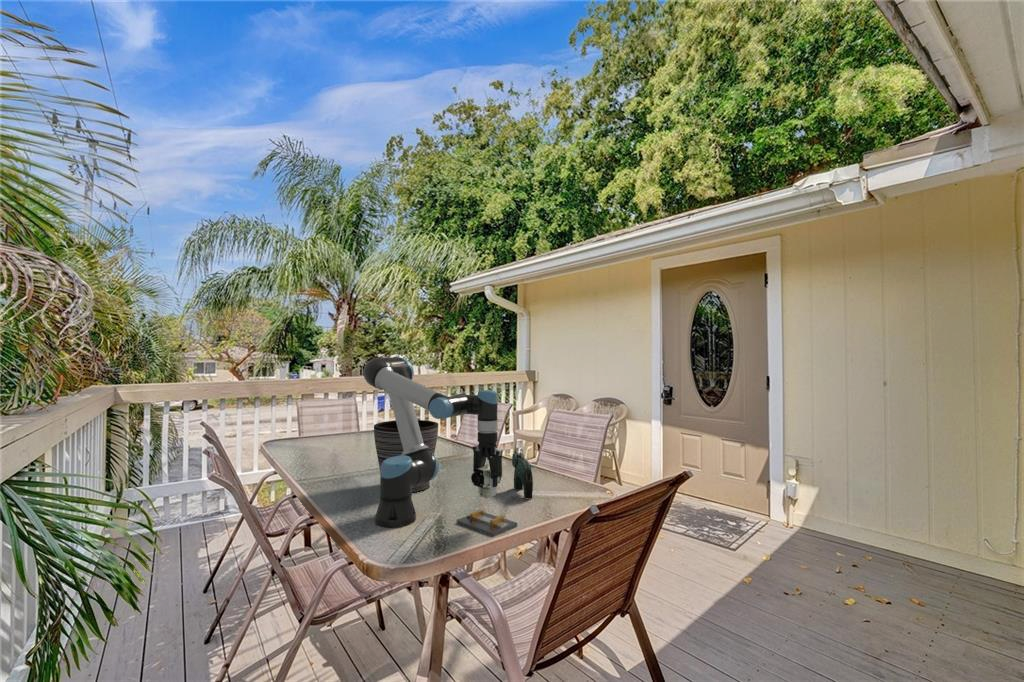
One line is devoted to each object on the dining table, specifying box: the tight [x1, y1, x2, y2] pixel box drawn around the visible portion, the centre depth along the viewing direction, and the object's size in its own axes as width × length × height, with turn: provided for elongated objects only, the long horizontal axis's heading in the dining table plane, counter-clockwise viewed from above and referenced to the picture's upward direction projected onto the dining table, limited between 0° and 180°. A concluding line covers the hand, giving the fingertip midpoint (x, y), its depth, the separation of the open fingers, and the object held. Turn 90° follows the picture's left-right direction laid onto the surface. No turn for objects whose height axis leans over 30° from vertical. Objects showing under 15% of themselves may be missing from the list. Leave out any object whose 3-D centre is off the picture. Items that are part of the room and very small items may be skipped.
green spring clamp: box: [511, 448, 534, 499], centre depth 213 cm, size 20×6×20 cm, turn 16°
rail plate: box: [456, 509, 518, 537], centre depth 173 cm, size 13×19×4 cm
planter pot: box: [373, 419, 439, 494], centre depth 220 cm, size 30×30×30 cm
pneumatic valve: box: [470, 463, 503, 499], centre depth 173 cm, size 6×12×12 cm, turn 134°
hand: (487, 493), depth 173 cm, fingers closed on pneumatic valve, 5 cm apart
